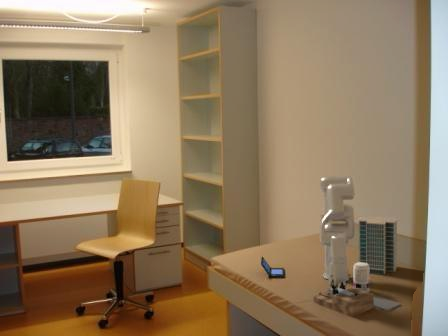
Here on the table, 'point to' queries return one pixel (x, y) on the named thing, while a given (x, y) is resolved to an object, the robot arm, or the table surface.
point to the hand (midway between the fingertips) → (339, 295)
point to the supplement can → (361, 276)
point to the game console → (272, 270)
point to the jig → (347, 301)
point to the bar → (343, 292)
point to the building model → (378, 243)
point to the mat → (385, 303)
